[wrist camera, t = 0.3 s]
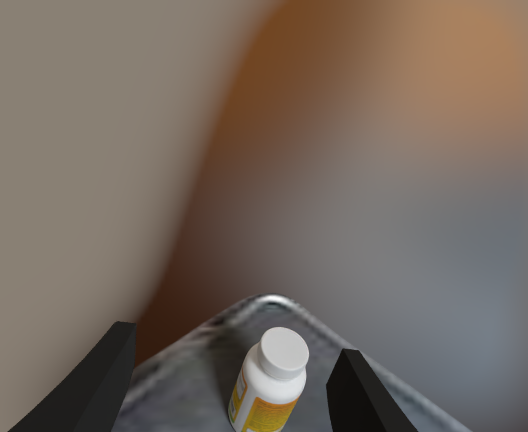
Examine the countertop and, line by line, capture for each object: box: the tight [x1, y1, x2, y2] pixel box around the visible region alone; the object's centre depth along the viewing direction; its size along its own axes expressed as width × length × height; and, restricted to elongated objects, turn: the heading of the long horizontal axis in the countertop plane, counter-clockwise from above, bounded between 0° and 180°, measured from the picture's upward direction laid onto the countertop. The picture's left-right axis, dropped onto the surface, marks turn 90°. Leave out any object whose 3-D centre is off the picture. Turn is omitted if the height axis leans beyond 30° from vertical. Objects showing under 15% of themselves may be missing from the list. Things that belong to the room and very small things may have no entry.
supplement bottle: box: [228, 327, 309, 432], centre depth 28 cm, size 5×5×10 cm
